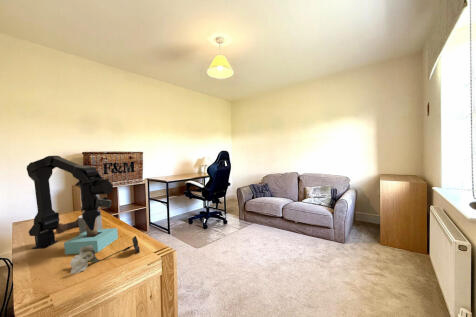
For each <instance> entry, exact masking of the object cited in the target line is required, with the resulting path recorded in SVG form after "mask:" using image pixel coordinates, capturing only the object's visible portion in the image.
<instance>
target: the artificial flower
mask: <svg viewBox="0 0 476 317" xmlns="http://www.w3.org/2000/svg"><path fill="white" fill-rule="evenodd" d="M131 239H132V244H133V245H130V246H127V247H126V248H124V249H121V250H118V251H116V252H114V253H112V254H110V255H108V256H106V257H104V258H102V259H99V258H97V256H96V252H94V249H93V246H91V245H89V246H85V247H82V248H81V250H79V251H80V253H79V254H77V255H76V254H75V255H74V256H73V258H72V259H71V260H70V263H69V265H70V266H71V267H72V268H71V270H70V274H71V275H75V274H78V273H81V272H82V271H86V270H87V268H88V263H91V264H96V263H98V262H101V261H105V260H106V259H108V258H110V257H112V256H113V255H116V254H119V253H120V252H126V251H128V250H130V249H131V248H134V251H136V252H137V253H140V252H141V251H140V246H139V240H138V238H137V236H136V235H135V236H133V237H132V238H131Z"/></svg>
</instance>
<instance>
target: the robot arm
mask: <svg viewBox="0 0 476 317" xmlns="http://www.w3.org/2000/svg"><path fill="white" fill-rule="evenodd" d="M56 168H57V169H60V170H62V171H65V172H67V173H70V174H71V175H72V177H73V178H75V179H76V180H78V181H77V182H76V183H75V186H77V187H79V191H80V203H81V206H80V212H81V215H82V218H83V219H84V221H85V222H86V224H87V225H88V227H89V229H90V230H94V225H95V219H96V218H97V217H98V216H100V215H101V216H102V212H101V210H100V207H103V208H106V209H110V208H111V206H112V202H113V201H112V200H111V199H109V197H108V196H103V197H102V198H99V197H98V195H110V194H111V193H112V192H113V190H114V185H113V184H112V182H111V181H110V180H109V178H103V176H102V175H101V174H100V172H98V171H97V168H96V167H94V166H91V165H81V164H78V163H76V162H73V161H72V160H68V159H66V158H63V157H61V156H60V155H48V156H45V157H44V158H41V159H37V160H35V161H32V162H29V164H27V165H26V172H27V175H28V178H30V179H31V181H33V183H34V190H35V192H34V193H35V200H36V207H37V208H36V209H37V212H36V215H35V216H34V219H33V225H32V226H31V227H30V229H29V230H28V235H29V236H30V237H34V242H35V243H34V244H35V245H34V246H32V249H46V248H48V247H50V246H52V245H54V244H56V243H58V242H59V241H58V240H56V235H55V232H54V231H56V229H57V228H58V224H59V223H60V220H61V219H60V213H59V212H58V211H57V212H56V211H54V210H53V204H52V203H53V202H52V196H51V187H50V179H51V177H52V176H53V170H54V169H56Z"/></svg>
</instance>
